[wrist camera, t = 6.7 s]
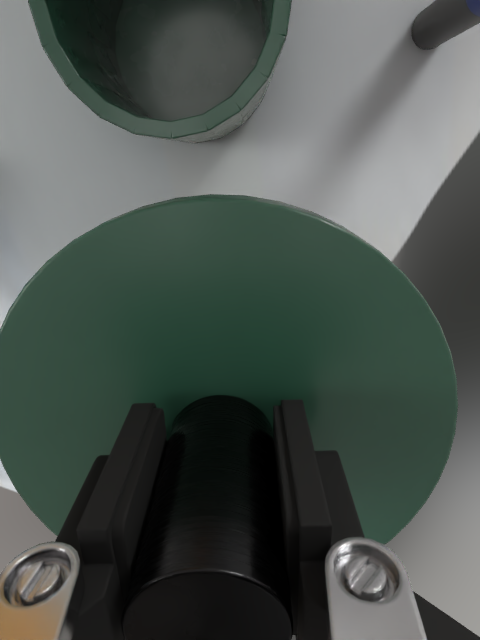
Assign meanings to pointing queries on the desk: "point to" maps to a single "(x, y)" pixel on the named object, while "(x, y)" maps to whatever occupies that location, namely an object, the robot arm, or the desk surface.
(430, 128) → the desk surface
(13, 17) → the desk surface
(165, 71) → the green hollow cylinder
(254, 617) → the lid
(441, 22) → the cylinder
